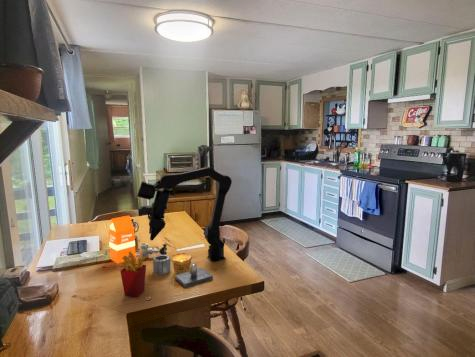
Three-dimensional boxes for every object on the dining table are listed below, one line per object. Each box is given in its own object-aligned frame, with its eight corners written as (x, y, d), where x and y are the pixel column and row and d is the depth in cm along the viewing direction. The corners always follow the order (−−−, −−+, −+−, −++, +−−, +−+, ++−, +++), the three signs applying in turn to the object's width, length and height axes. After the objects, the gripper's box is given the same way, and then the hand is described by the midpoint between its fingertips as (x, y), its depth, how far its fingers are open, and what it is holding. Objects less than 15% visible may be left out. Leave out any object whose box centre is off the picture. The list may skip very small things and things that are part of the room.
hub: (166, 266, 132) (166, 253, 131) (172, 272, 126) (172, 258, 126) (151, 270, 128) (150, 257, 127) (157, 276, 123) (156, 262, 122)
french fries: (148, 290, 111) (146, 251, 110) (135, 301, 103) (133, 260, 102) (126, 287, 113) (124, 249, 111) (113, 298, 105) (110, 257, 104)
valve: (138, 260, 139) (164, 260, 139) (137, 247, 138) (163, 246, 138) (142, 255, 146) (167, 254, 146) (141, 242, 145) (166, 241, 145)
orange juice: (136, 258, 142) (133, 216, 139) (117, 263, 135) (115, 220, 133) (127, 253, 147) (125, 213, 145) (110, 259, 141) (107, 217, 138)
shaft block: (202, 271, 127) (201, 257, 127) (212, 279, 120) (212, 264, 119) (175, 278, 121) (174, 264, 120) (184, 287, 113) (184, 272, 112)
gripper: (141, 194, 136) (131, 227, 137) (142, 202, 119) (131, 240, 119) (165, 199, 140) (156, 231, 140) (170, 208, 122) (159, 245, 123)
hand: (150, 236), depth 131 cm, fingers open, 9 cm apart
